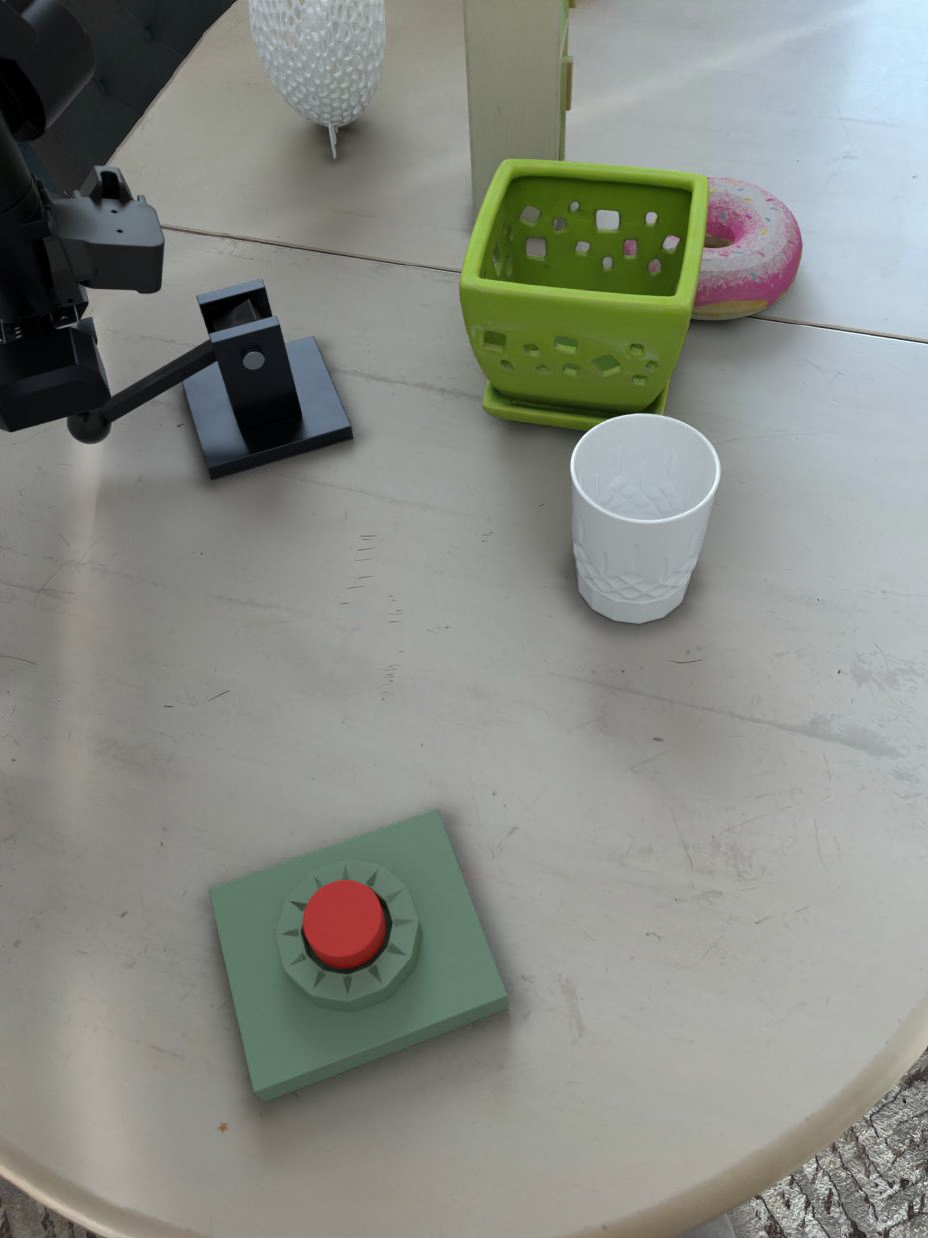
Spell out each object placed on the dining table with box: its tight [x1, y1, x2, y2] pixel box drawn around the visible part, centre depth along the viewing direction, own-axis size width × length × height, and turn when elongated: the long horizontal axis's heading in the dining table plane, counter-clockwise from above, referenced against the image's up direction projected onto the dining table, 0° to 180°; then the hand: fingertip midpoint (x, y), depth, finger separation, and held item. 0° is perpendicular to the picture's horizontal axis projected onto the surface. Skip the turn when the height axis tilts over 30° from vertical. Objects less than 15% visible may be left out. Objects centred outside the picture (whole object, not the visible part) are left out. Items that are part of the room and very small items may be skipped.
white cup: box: [569, 414, 722, 625], centre depth 60 cm, size 8×8×10 cm
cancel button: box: [303, 880, 386, 969], centre depth 48 cm, size 4×4×2 cm
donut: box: [624, 176, 803, 321], centre depth 78 cm, size 14×13×5 cm
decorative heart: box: [248, 0, 387, 159], centre depth 88 cm, size 18×11×17 cm, turn 179°
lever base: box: [181, 278, 354, 481], centre depth 71 cm, size 10×10×9 cm
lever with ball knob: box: [66, 299, 263, 445], centre depth 69 cm, size 15×3×3 cm, turn 109°
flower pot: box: [458, 159, 709, 432], centre depth 69 cm, size 14×14×13 cm
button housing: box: [208, 808, 509, 1103], centre depth 51 cm, size 12×10×4 cm
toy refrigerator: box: [462, 0, 578, 230], centre depth 78 cm, size 8×7×21 cm
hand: (81, 407), depth 69 cm, fingers closed, pressing on lever with ball knob
